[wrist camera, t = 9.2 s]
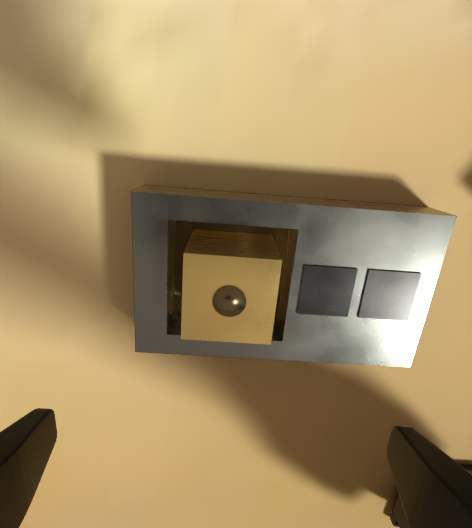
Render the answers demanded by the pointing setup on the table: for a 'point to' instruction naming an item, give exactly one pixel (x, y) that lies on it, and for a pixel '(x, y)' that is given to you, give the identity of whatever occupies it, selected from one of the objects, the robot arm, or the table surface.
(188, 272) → the wooden block
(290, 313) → the panel
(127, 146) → the table surface
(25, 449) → the robot arm
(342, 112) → the table surface
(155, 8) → the table surface
